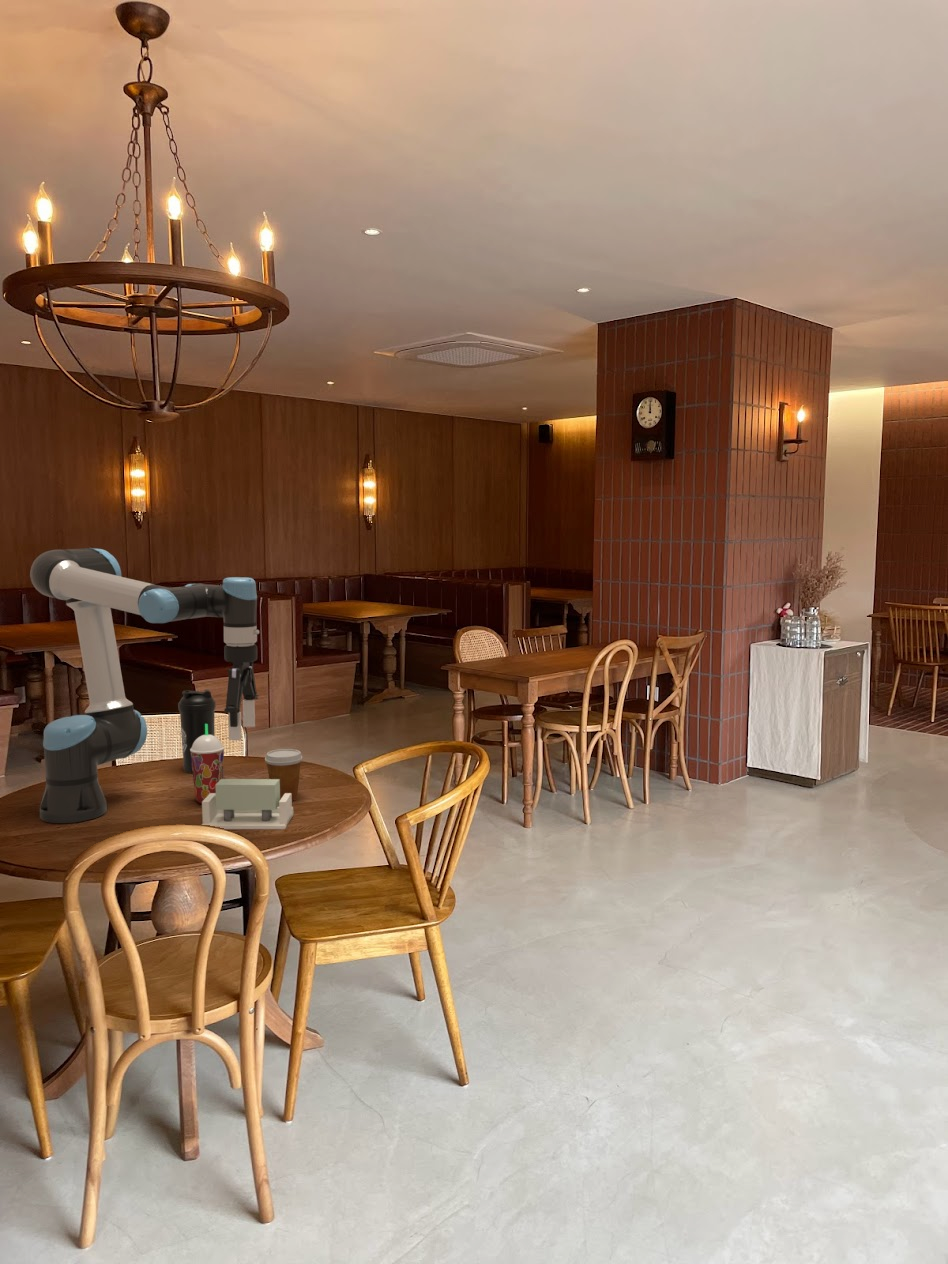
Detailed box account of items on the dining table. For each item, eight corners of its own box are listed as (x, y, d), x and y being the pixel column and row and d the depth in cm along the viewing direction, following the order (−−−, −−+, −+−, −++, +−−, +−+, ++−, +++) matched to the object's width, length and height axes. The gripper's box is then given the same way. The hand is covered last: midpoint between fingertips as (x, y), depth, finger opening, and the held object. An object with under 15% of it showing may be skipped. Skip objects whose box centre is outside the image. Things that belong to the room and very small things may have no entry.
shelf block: (216, 809, 224) (215, 784, 224) (222, 803, 229) (221, 778, 229) (275, 809, 224) (274, 785, 223) (280, 803, 229) (279, 779, 228)
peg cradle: (200, 829, 222) (199, 804, 221) (213, 815, 232) (212, 791, 232) (284, 829, 222) (284, 804, 221) (293, 815, 232) (292, 791, 232)
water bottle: (180, 766, 277) (177, 688, 274) (216, 763, 280) (214, 686, 277) (180, 775, 268) (177, 695, 265) (218, 772, 271) (215, 693, 268)
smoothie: (231, 797, 247) (229, 721, 245) (214, 806, 239) (212, 728, 237) (203, 794, 249) (200, 719, 247) (185, 804, 241) (182, 726, 239)
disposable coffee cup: (295, 805, 240) (294, 758, 239) (259, 802, 242) (258, 756, 241) (309, 794, 250) (308, 749, 248) (274, 792, 252) (273, 747, 250)
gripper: (244, 652, 210) (245, 746, 213) (268, 637, 235) (269, 721, 237) (209, 651, 210) (212, 745, 213) (237, 636, 235) (239, 721, 237)
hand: (242, 733), depth 225 cm, fingers open, 13 cm apart
